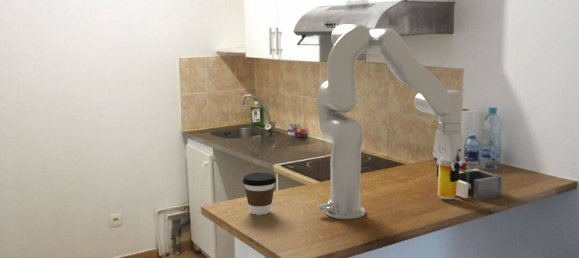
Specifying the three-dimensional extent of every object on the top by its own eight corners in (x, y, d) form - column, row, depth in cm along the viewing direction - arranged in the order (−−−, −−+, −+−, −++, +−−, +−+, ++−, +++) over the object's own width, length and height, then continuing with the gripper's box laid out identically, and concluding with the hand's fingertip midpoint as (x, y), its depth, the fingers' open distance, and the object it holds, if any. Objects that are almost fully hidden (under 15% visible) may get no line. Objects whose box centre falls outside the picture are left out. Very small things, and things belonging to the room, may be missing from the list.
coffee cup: (239, 209, 185) (238, 174, 183) (270, 204, 189) (269, 170, 187) (249, 219, 175) (248, 182, 173) (281, 214, 179) (281, 178, 177)
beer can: (456, 200, 187) (458, 156, 185) (438, 199, 189) (439, 156, 186) (455, 194, 193) (457, 152, 190) (437, 193, 194) (438, 152, 192)
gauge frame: (477, 201, 189) (478, 180, 188) (453, 191, 200) (454, 171, 198) (501, 196, 194) (502, 175, 192) (476, 187, 204) (477, 168, 203)
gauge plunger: (464, 197, 189) (464, 176, 188) (445, 190, 198) (445, 169, 197) (476, 195, 192) (477, 174, 190) (457, 188, 200) (457, 167, 199)
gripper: (424, 124, 193) (422, 174, 196) (458, 132, 177) (456, 186, 180) (441, 122, 196) (439, 171, 199) (476, 130, 180) (474, 183, 184)
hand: (447, 178), depth 190 cm, fingers closed on beer can, 6 cm apart
